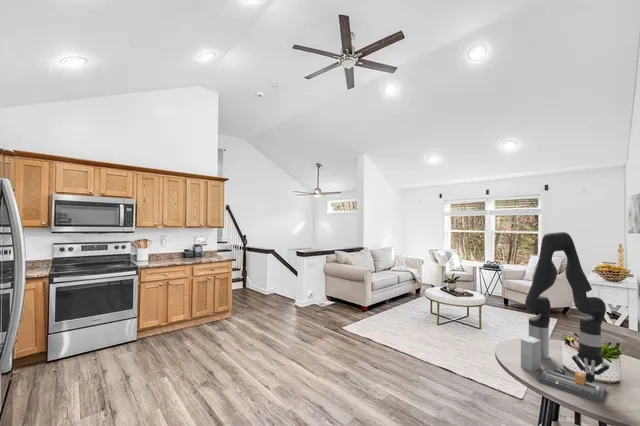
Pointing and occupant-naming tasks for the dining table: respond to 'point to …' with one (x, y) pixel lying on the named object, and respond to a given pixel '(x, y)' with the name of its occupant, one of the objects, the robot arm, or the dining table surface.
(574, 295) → the robot arm
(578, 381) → the fader knob
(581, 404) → the dining table surface
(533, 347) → the skincare box
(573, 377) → the console
